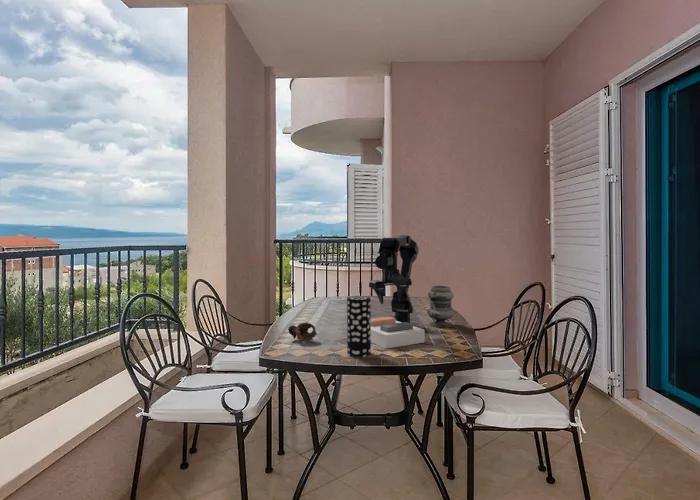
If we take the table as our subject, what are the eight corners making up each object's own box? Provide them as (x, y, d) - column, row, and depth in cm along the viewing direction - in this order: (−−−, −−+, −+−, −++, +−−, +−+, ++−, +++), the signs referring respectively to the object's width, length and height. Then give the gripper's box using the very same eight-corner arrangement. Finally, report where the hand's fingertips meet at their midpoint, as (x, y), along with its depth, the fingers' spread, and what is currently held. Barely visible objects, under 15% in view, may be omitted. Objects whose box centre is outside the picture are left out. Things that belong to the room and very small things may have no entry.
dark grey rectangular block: (405, 331, 173) (405, 322, 173) (412, 334, 169) (412, 324, 169) (380, 335, 168) (380, 325, 167) (387, 338, 163) (387, 327, 163)
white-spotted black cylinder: (354, 358, 147) (353, 300, 146) (343, 352, 154) (343, 297, 153) (375, 355, 150) (374, 298, 150) (363, 349, 158) (363, 295, 157)
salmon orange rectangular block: (389, 325, 184) (389, 316, 184) (395, 328, 179) (395, 318, 179) (365, 328, 178) (364, 319, 178) (371, 331, 174) (371, 321, 174)
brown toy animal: (318, 339, 176) (320, 324, 172) (310, 354, 168) (312, 339, 164) (291, 330, 178) (292, 315, 173) (282, 345, 170) (283, 330, 165)
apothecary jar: (433, 328, 191) (433, 288, 190) (423, 322, 203) (423, 285, 202) (458, 327, 193) (458, 287, 193) (447, 321, 205) (447, 284, 204)
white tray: (390, 330, 188) (390, 318, 188) (424, 342, 167) (424, 329, 167) (354, 334, 180) (354, 323, 180) (385, 348, 159) (385, 335, 159)
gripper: (382, 269, 171) (383, 308, 172) (419, 267, 180) (419, 303, 181) (368, 267, 181) (368, 304, 182) (403, 265, 190) (404, 299, 191)
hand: (390, 303), depth 184 cm, fingers open, 9 cm apart
